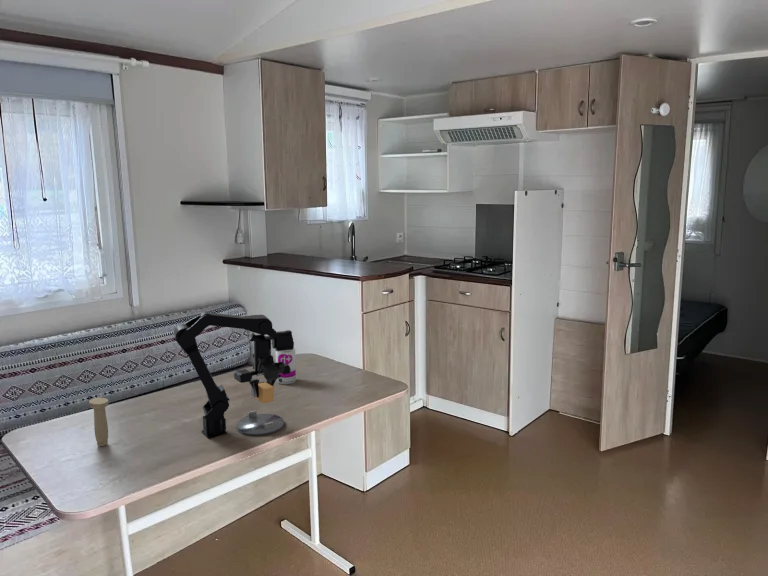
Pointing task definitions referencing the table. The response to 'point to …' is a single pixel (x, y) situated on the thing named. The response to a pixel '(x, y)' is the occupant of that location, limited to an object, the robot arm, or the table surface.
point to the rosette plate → (259, 424)
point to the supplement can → (290, 360)
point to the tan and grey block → (264, 392)
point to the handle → (100, 420)
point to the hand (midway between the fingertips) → (263, 395)
